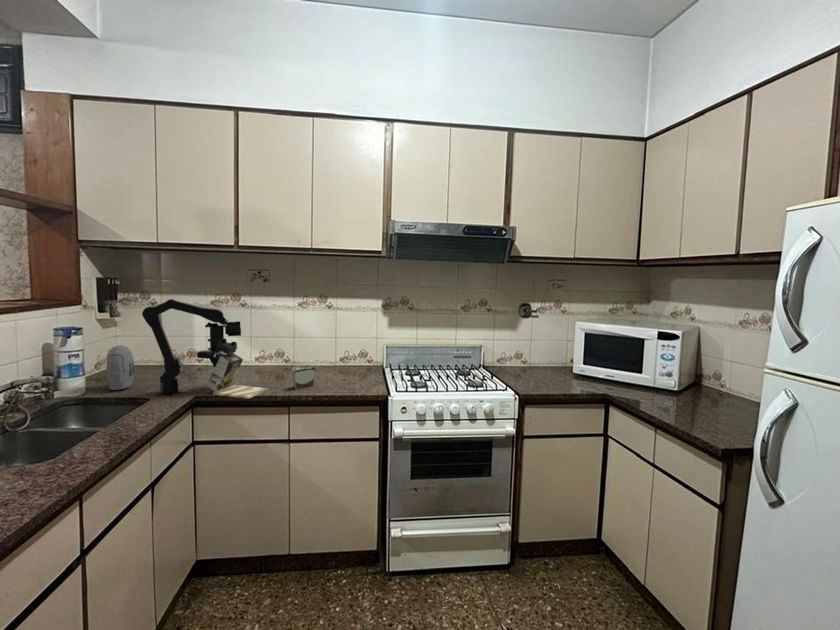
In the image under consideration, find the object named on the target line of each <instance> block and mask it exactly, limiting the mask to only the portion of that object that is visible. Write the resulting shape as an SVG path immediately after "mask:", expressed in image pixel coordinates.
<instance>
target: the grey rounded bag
mask: <svg viewBox="0 0 840 630" xmlns="http://www.w3.org/2000/svg"><path fill="white" fill-rule="evenodd" d="M105 372H106V381H107V384H108V388H109V390H112V391H113V390H114V391H116V390H117V391H119V390H124V389H127V388H129V387H131V386H132V384H133V380H134V375H135V361H134V356H133V352H132V351H131V350H130V348H129V347H128V346H125V345H123V344H122V345H121V344H119V345H116V346H112V347H111V348H109V351H108V353H107V361H106V369H105Z"/></svg>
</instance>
